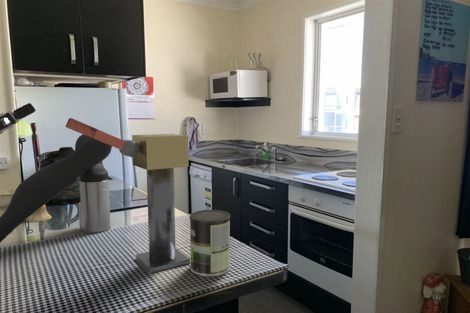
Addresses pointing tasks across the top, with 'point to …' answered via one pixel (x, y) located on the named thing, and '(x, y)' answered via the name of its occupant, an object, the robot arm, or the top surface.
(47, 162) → the beer stein
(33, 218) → the hand bell
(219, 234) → the coffee can
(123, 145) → the lever
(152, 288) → the top surface
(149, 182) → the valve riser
